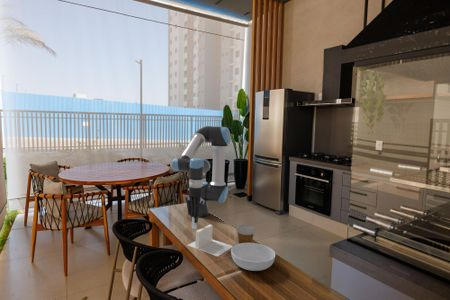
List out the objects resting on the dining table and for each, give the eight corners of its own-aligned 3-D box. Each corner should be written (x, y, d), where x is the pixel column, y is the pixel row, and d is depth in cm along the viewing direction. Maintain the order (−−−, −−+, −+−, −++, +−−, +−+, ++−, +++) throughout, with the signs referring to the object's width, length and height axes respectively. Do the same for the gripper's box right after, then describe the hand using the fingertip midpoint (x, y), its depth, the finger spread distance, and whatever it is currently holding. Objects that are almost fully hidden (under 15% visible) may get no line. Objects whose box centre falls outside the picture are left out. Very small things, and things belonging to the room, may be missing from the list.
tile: (208, 240, 153) (209, 224, 152) (212, 241, 151) (212, 225, 151) (194, 247, 143) (195, 230, 142) (198, 248, 141) (199, 231, 141)
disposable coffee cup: (255, 248, 147) (257, 226, 146) (249, 255, 138) (251, 232, 137) (239, 244, 150) (240, 223, 150) (232, 251, 142) (234, 228, 141)
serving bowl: (284, 270, 124) (285, 256, 124) (246, 282, 114) (247, 266, 113) (256, 251, 142) (257, 239, 142) (222, 260, 132) (223, 246, 131)
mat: (204, 237, 157) (204, 236, 157) (233, 247, 146) (233, 246, 146) (187, 246, 145) (187, 245, 145) (217, 257, 134) (217, 256, 134)
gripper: (182, 185, 150) (180, 227, 152) (200, 189, 143) (198, 232, 145) (191, 183, 156) (189, 223, 158) (209, 187, 149) (207, 229, 151)
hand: (194, 227), depth 151 cm, fingers closed
